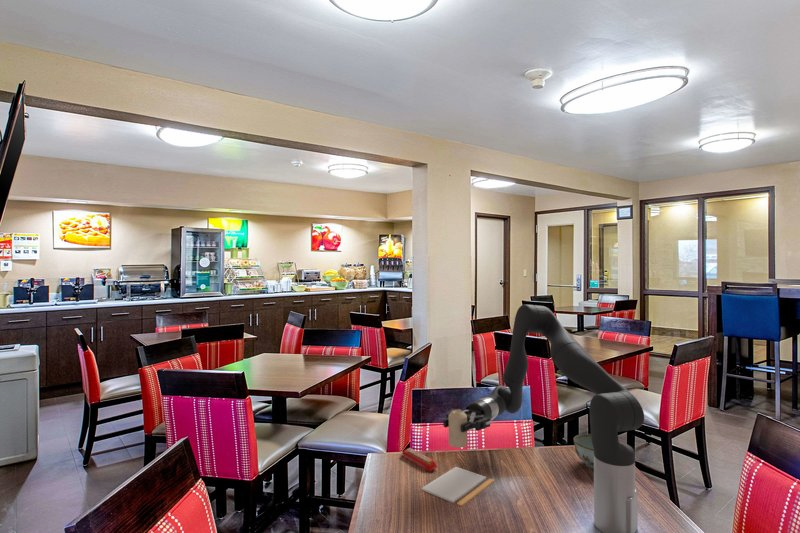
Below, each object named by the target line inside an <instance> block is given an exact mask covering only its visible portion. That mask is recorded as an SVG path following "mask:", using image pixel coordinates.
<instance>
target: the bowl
mask: <svg viewBox="0 0 800 533" xmlns="http://www.w3.org/2000/svg"><path fill="white" fill-rule="evenodd" d="M573 444H574V445H573V446H574V451H575V453H576V455H577V456H578V458H579V459H580V460H581V461H582V463H584V464H585V466H586V467H587V468H589V469H590V470H593V471H594V448H593V445H592V441H591V433H581V434H577V435H575V436H574V437H573Z"/></svg>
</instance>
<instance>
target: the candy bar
mask: <svg viewBox="0 0 800 533" xmlns="http://www.w3.org/2000/svg"><path fill="white" fill-rule="evenodd" d="M401 455H402V456H403V457H404V458H405V459H407V460H408V461H409V462H411V463H413V464H415V465H417V466H418V467H420V468H422V469H423V470H425V471H427V472H432V471H433V470H434V469H438V465H437V464H436V462H435V460H433V459H432V458H430V457H428V456H426V455H424V454H423V453H421V452H419V451H418V450H415V449H413V448H412V447H408V448H405V450H403V451H402V453H401Z"/></svg>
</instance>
